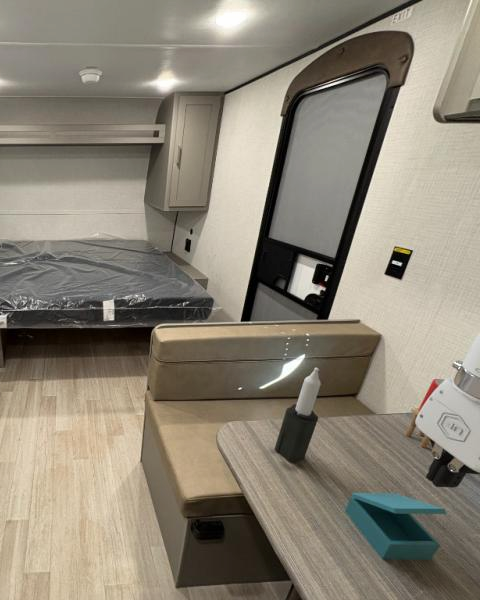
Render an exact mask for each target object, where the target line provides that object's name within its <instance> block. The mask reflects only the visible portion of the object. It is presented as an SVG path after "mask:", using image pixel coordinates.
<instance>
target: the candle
mask: <svg viewBox="0 0 480 600" xmlns="http://www.w3.org/2000/svg"><path fill="white" fill-rule="evenodd" d="M319 371H320V369H319V368H318V367H314V369H313V371H312V372H311V373H310V375H308V376H306V377H305V378H304V379H303V380H304V381H303V383H302V386H301V389H300V392H299V395H298V399H297V402H296V404H295V403H294V404H292V405H291V406H289V407H288V408H286V410H285V413H284V416H283V419H282V422H281V425H280V430H279V433H278V436H277V439H276V443H275V447H274V451H275V452H276V453H278V454H279V455H280V456H281V457H282V458H284V459H285V460H286V461H287V462H288V463H290V464H293V465H295V464H297V463H299V462H301V461H303V460H305V457H306V454H307V452H308V449H309V446H310V443H311V441H312V437H313V434H314V432H315V429H316V426H317V423H318V420H319V416H318V415H317V414H316V413H315V412H314V410H313V408H314V407H315V402H316V400H317V397H318V393H319V392H320V391H319V390H320V387H321V380H320V378H319Z"/></svg>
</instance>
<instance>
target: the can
mask: <svg viewBox="0 0 480 600" xmlns="http://www.w3.org/2000/svg"><path fill="white" fill-rule="evenodd" d="M445 380H446V379H443V378H434V379H433V380H432V381H431V383H430V385H429V387H428V389H427V390H426V391H427V392H426V393H425V396H424V398H423V399H422V401H421V403H420V405H419V407H418V408H419V412H420V410H421V408H422V407H423V405H424V404H425V402H426V401H427V399H428V398H429V397H430V395H431V394H432V393H433V392H434V391H435V389H436V388H437V387H438V386H439V385H440V384H441V383H442V382H443V381H445Z"/></svg>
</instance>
